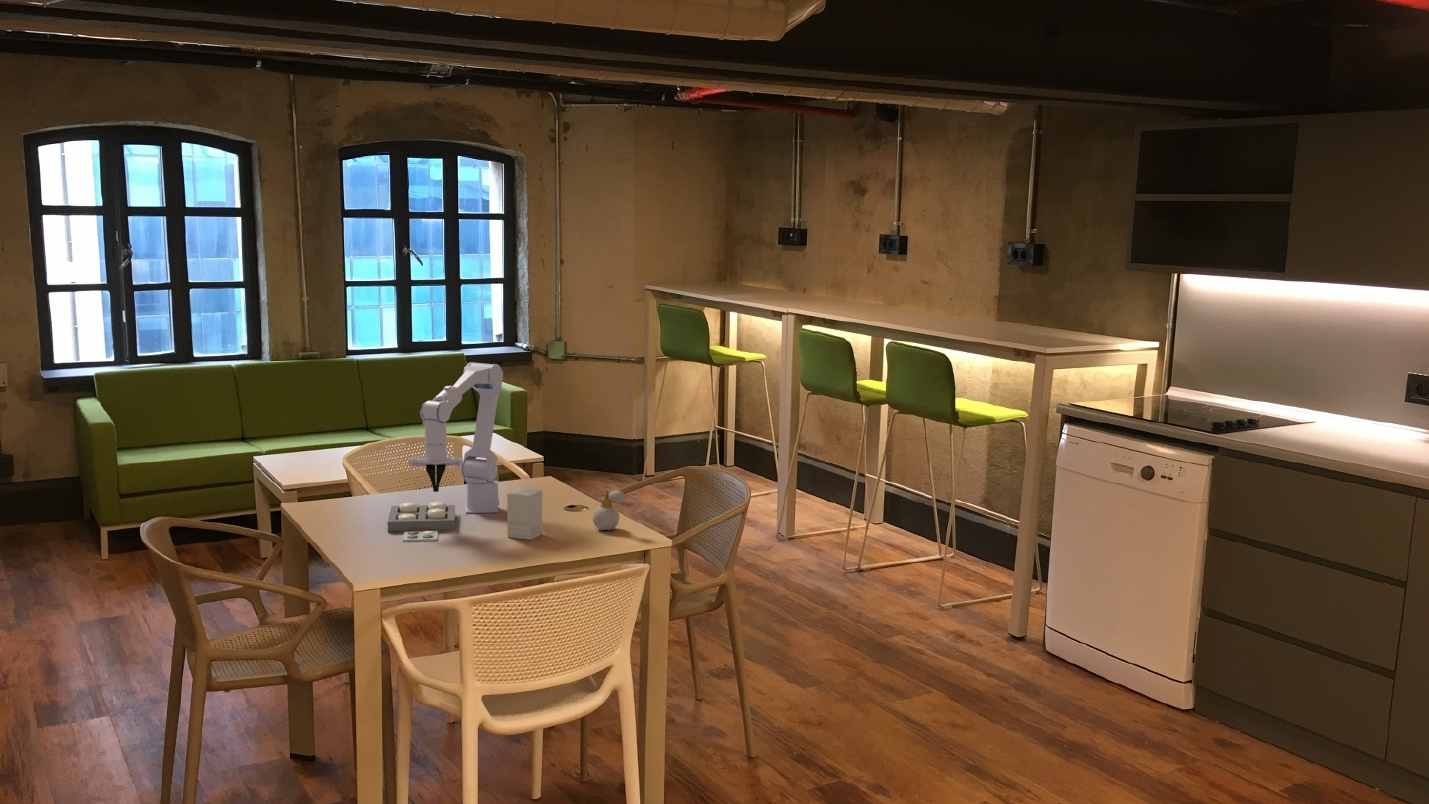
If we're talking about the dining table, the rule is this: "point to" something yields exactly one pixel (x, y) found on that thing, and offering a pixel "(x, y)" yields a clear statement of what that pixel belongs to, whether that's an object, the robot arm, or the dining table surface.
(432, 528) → the button board
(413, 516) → the button
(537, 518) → the supplement box
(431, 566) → the dining table surface
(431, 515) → the button
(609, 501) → the perfume bottle
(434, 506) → the button
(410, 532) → the tile
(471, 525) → the dining table surface
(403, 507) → the button
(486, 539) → the dining table surface
